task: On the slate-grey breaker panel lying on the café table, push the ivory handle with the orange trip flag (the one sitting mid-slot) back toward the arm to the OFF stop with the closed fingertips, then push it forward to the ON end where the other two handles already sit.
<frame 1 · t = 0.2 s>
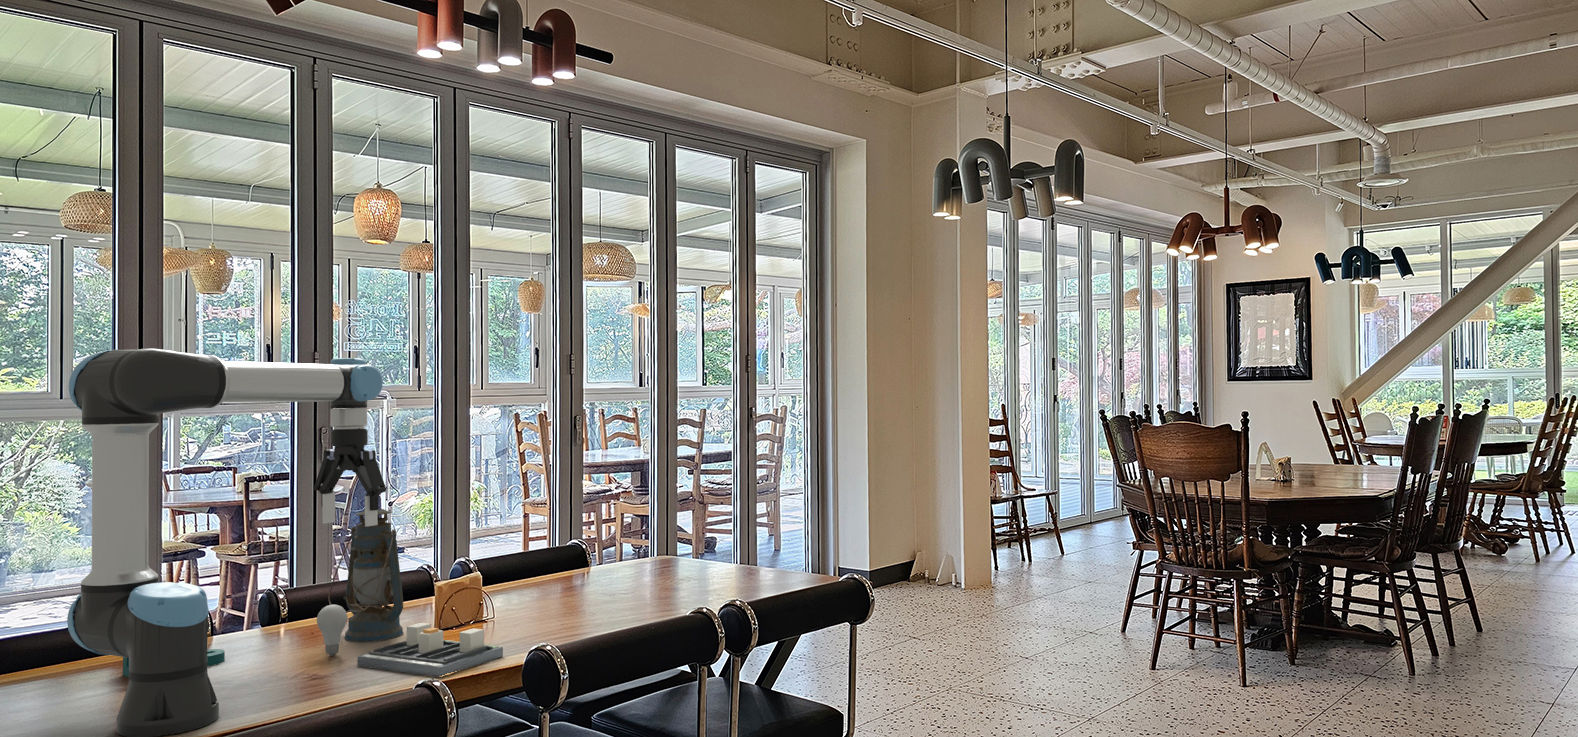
hand: (349, 524, 229), 28 cm above the table, fingers open, 13 cm apart
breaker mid: (431, 640, 219), point 4 cm above the table, slide at 4.0 cm
lightbulb: (332, 656, 225), on the table
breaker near: (471, 640, 220), point 4 cm above the table, slide at 8.0 cm
lantern: (371, 637, 243), on the table
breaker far: (418, 634, 226), point 4 cm above the table, slide at 8.0 cm
panel: (431, 661, 219), on the table
bracket: (177, 670, 216), on the table
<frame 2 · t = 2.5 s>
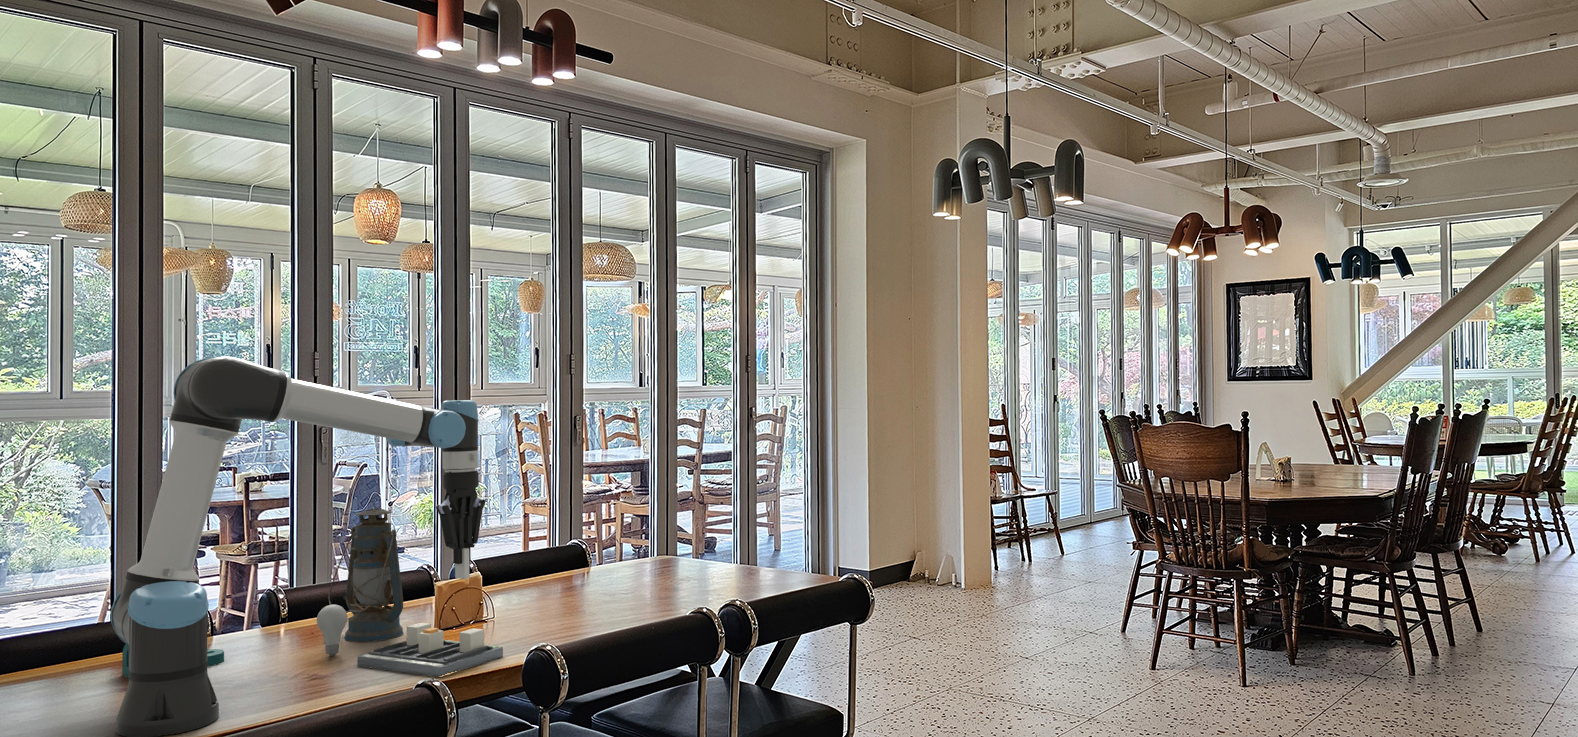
hand: (462, 578, 228), 16 cm above the table, fingers closed
nothing on the table moved.
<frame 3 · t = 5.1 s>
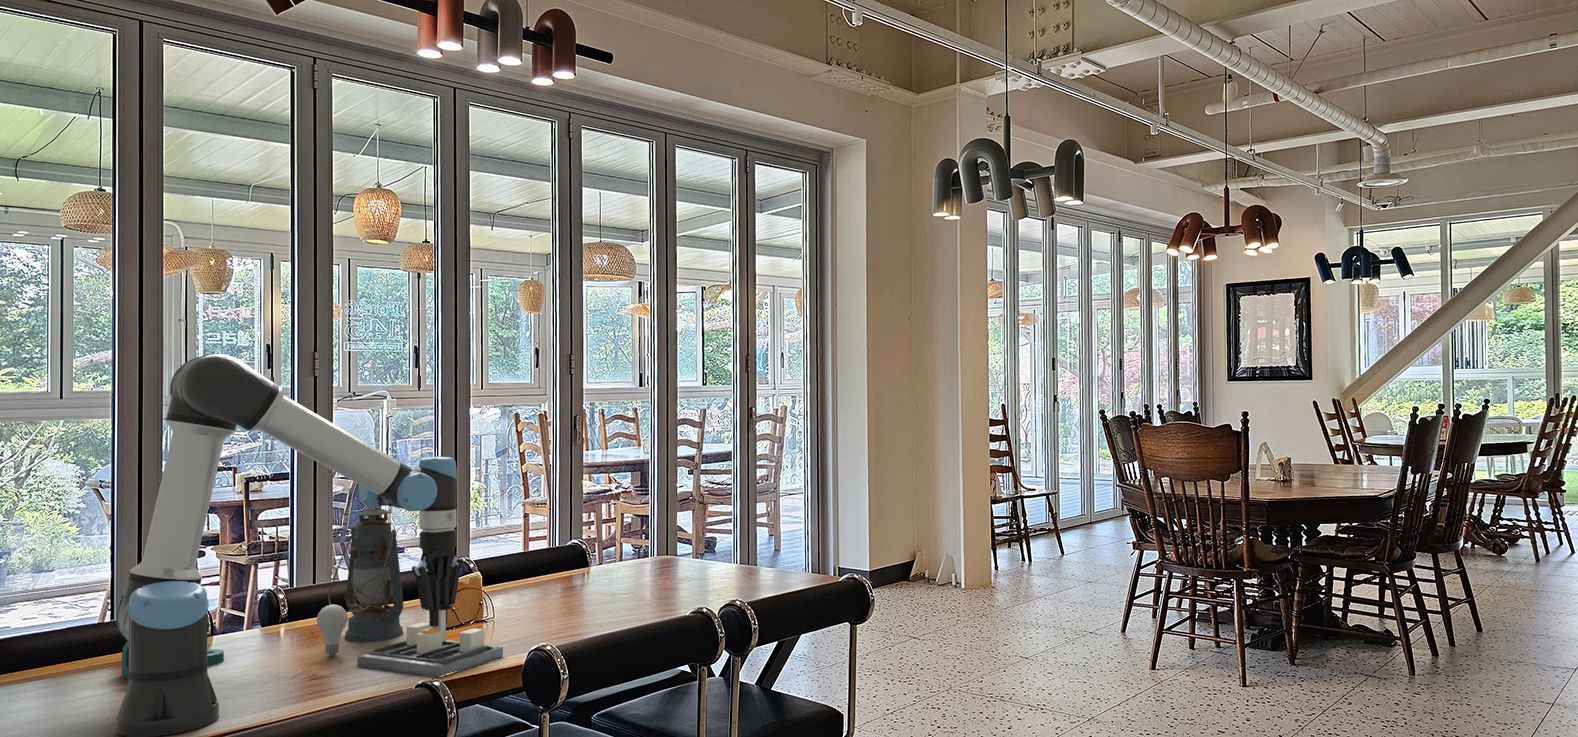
hand: (438, 640, 221), 4 cm above the table, fingers closed
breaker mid: (429, 640, 219), point 4 cm above the table, slide at 3.5 cm, touching gripper
everything else where it was.
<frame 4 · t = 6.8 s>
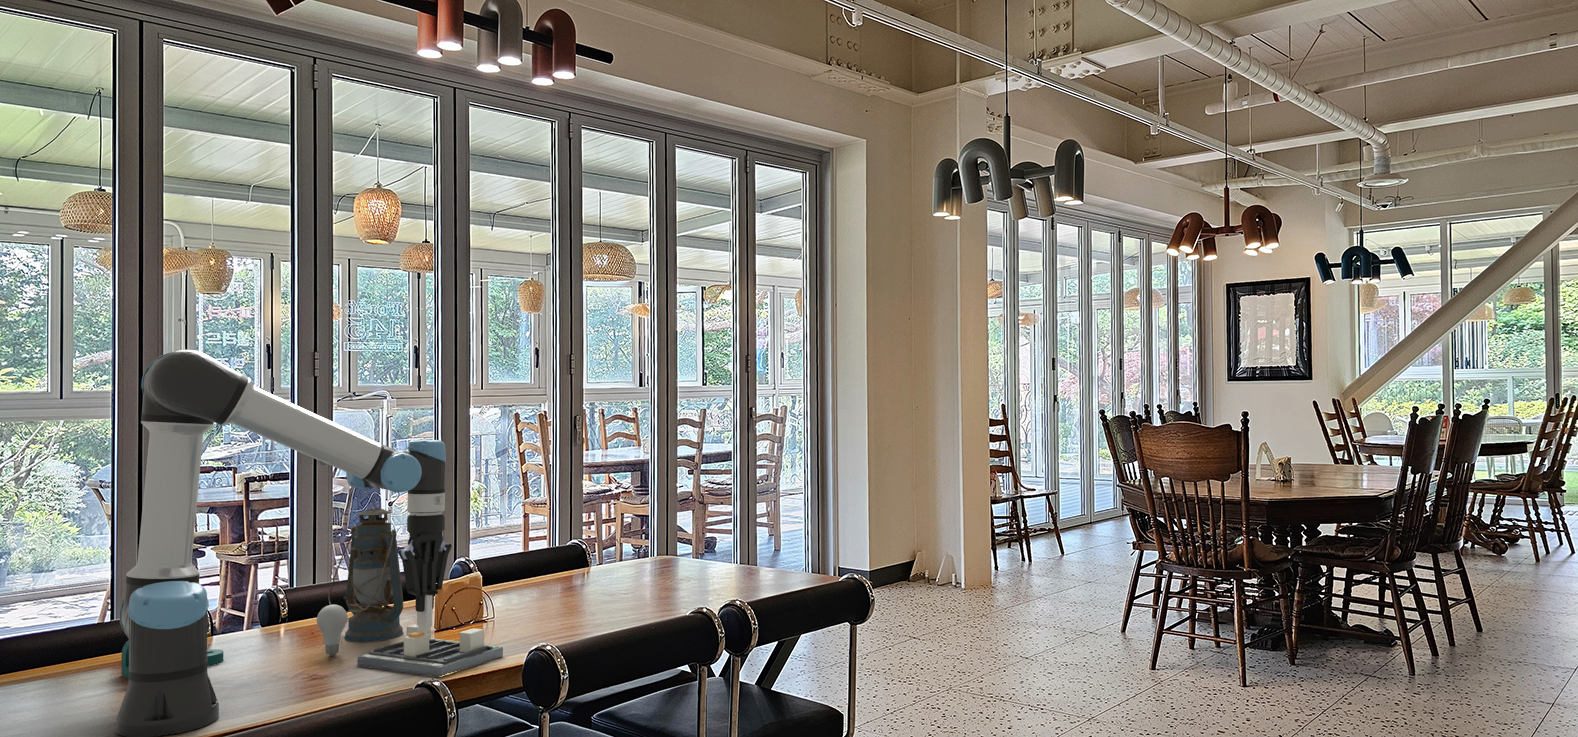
hand: (424, 626, 218), 8 cm above the table, fingers closed
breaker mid: (416, 644, 216), point 4 cm above the table, slide at 0.0 cm
everything else where it was.
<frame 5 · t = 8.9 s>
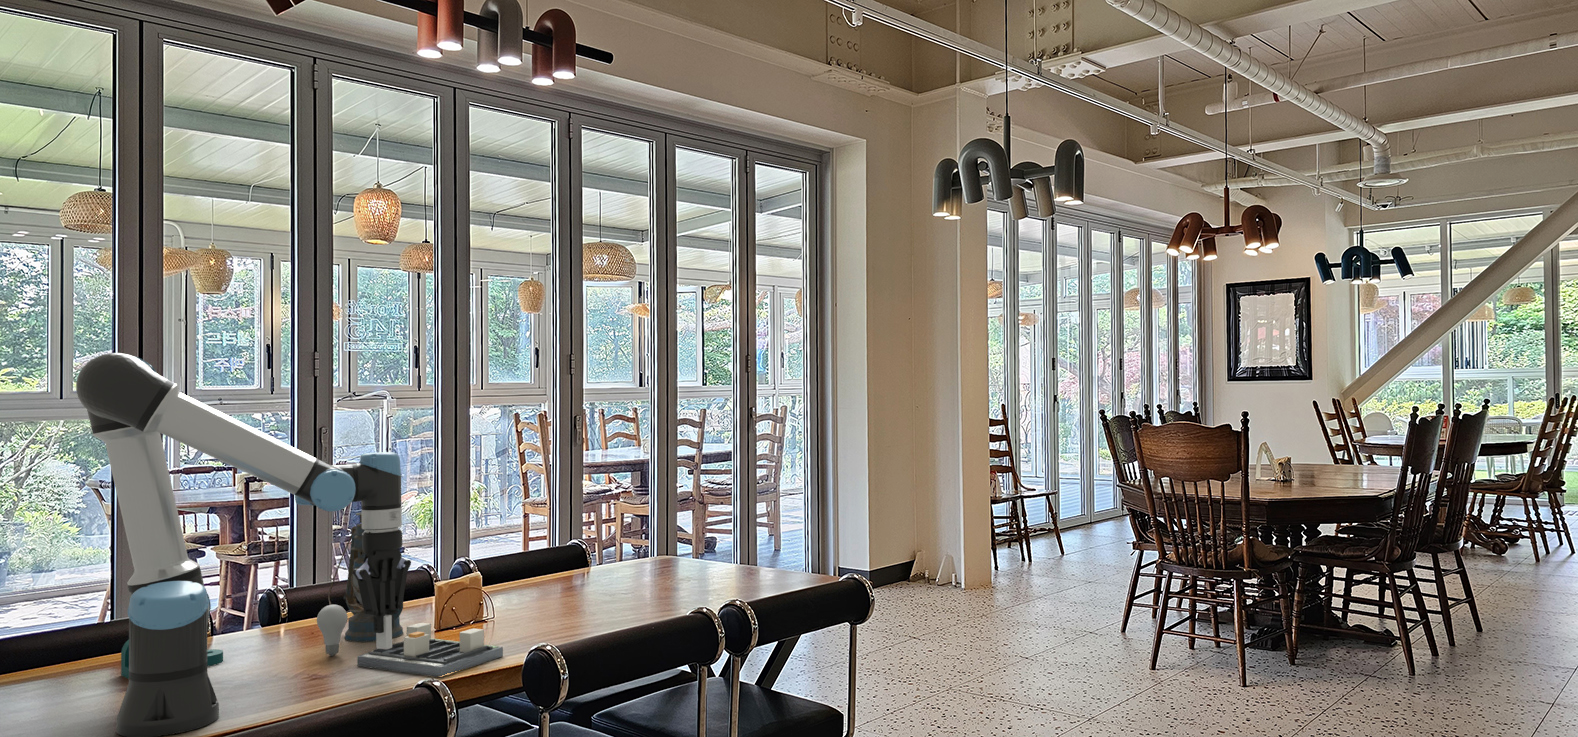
hand: (384, 647, 208), 6 cm above the table, fingers closed
nothing on the table moved.
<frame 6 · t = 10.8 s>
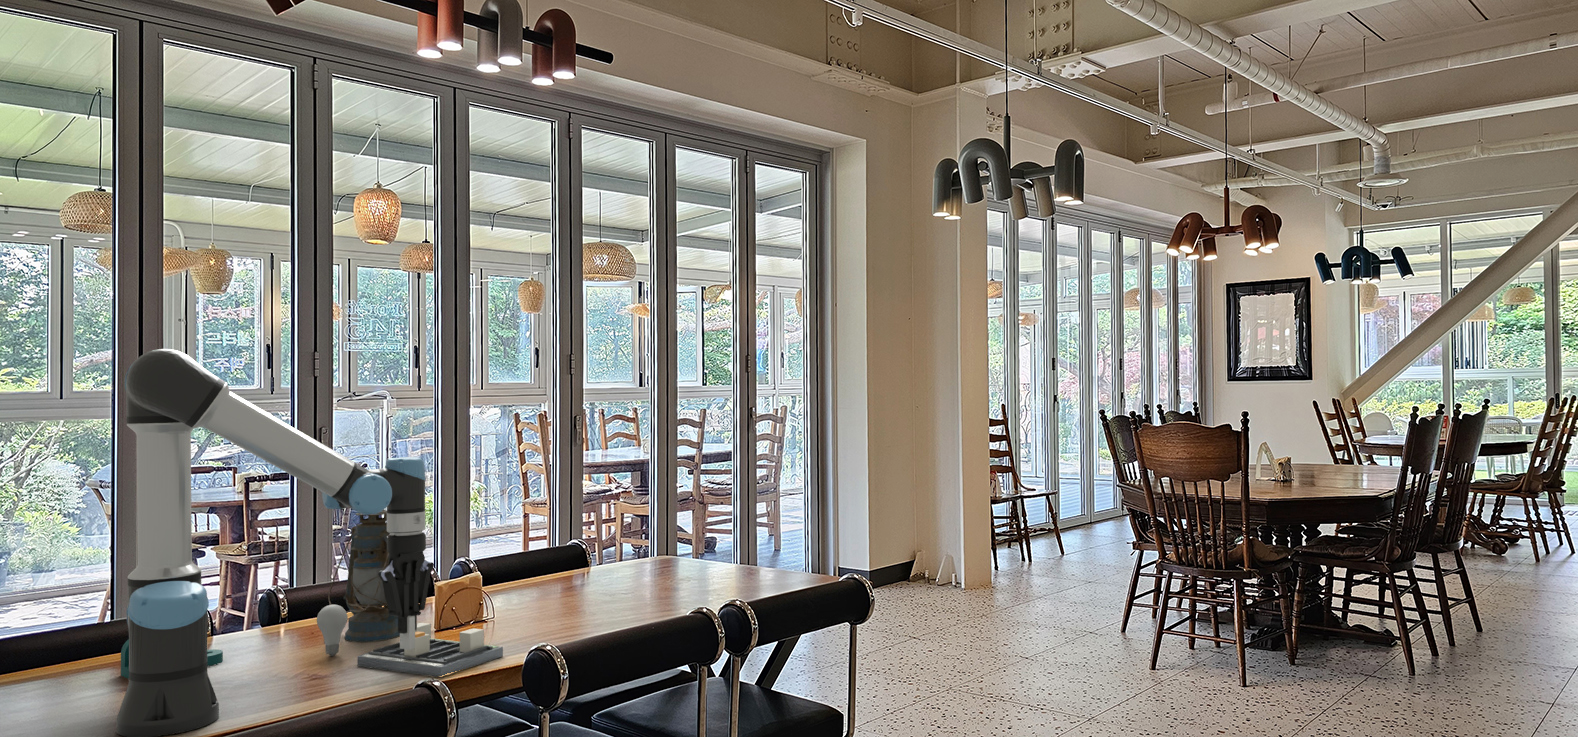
hand: (407, 647, 213), 4 cm above the table, fingers closed
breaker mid: (417, 644, 216), point 4 cm above the table, slide at 0.1 cm, touching gripper
everything else where it was.
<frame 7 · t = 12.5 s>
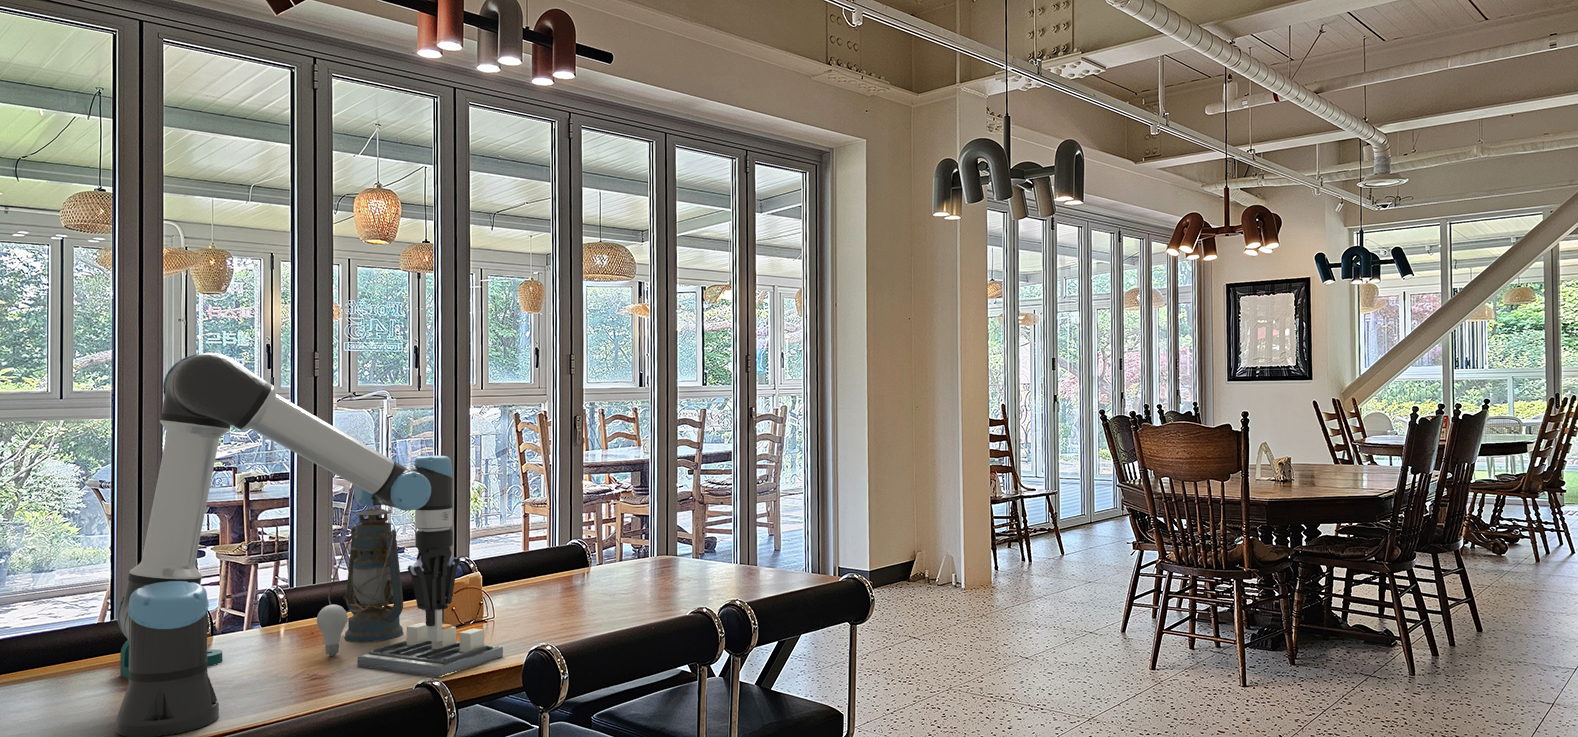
hand: (434, 640, 220), 4 cm above the table, fingers closed
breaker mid: (444, 636, 223), point 4 cm above the table, slide at 7.8 cm, touching gripper
everything else where it was.
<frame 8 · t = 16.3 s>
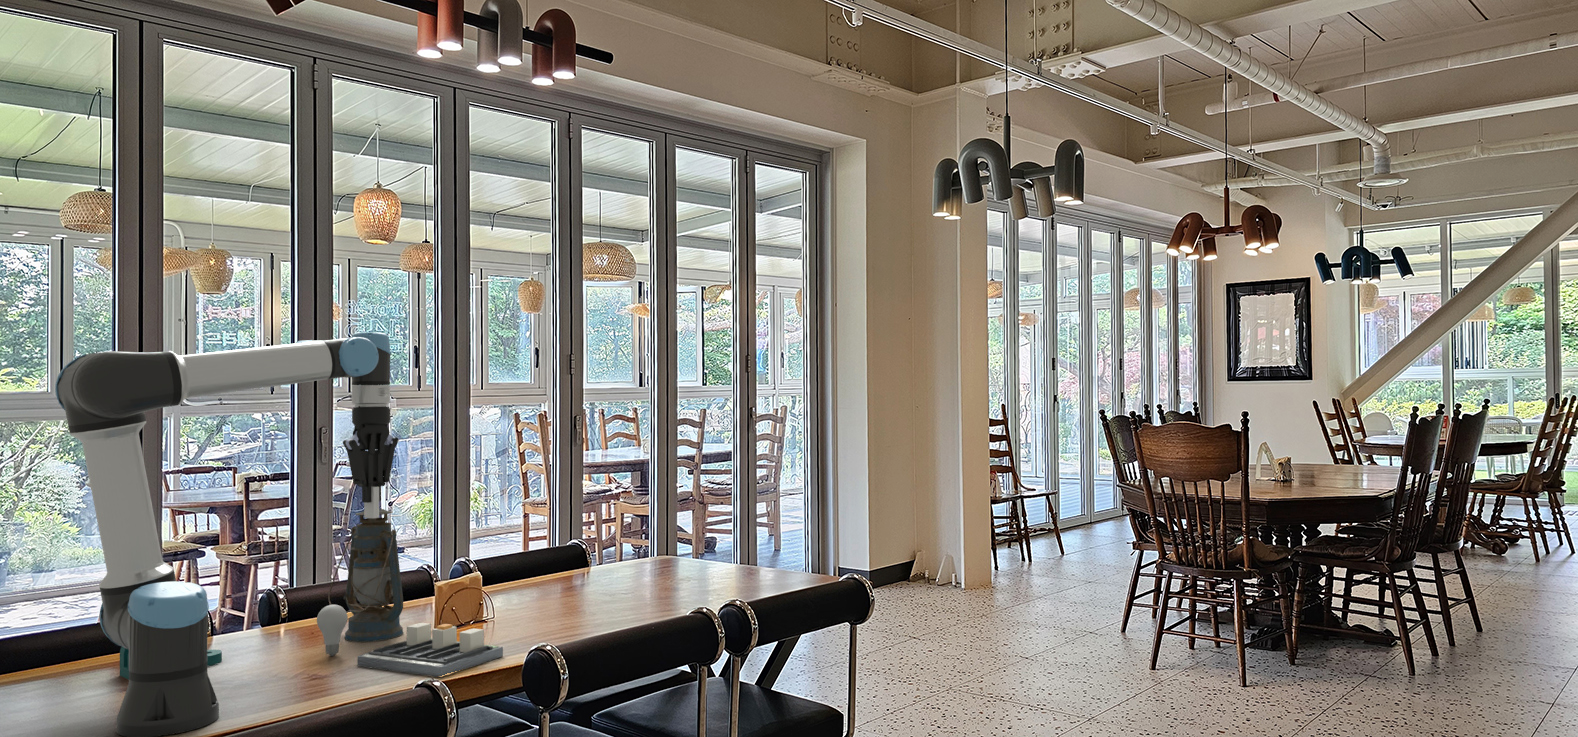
hand: (371, 517, 219), 30 cm above the table, fingers closed
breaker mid: (444, 636, 223), point 4 cm above the table, slide at 7.9 cm
everything else where it was.
at the end: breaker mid slide at 7.9 cm; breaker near slide at 8.0 cm; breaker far slide at 8.0 cm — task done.
